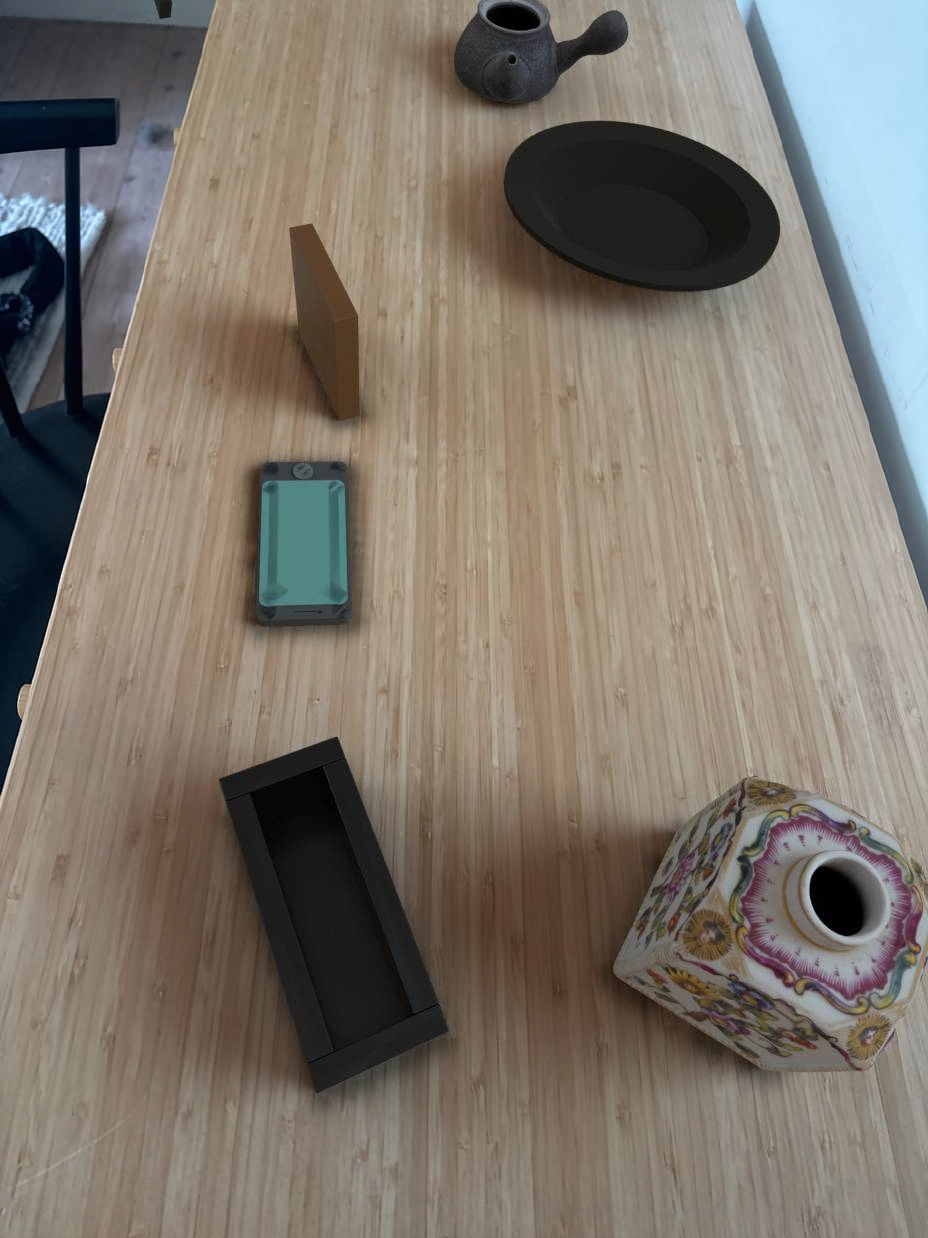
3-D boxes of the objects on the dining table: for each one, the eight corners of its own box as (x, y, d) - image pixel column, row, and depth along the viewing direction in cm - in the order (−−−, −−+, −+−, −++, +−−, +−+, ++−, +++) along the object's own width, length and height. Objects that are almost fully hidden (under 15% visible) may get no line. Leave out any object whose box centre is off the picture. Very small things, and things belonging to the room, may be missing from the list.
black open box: (237, 817, 60) (217, 778, 52) (341, 778, 62) (337, 735, 54) (323, 1091, 53) (316, 1094, 45) (437, 1037, 54) (449, 1031, 47)
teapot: (446, 120, 98) (454, 26, 89) (456, 42, 105) (464, -52, 96) (610, 143, 99) (634, 52, 90) (609, 64, 106) (631, -27, 97)
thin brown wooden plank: (298, 333, 81) (288, 227, 71) (319, 328, 81) (312, 222, 71) (338, 420, 76) (333, 321, 66) (359, 415, 77) (358, 315, 67)
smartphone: (347, 459, 73) (351, 616, 66) (347, 468, 74) (351, 624, 67) (257, 460, 72) (252, 619, 65) (259, 469, 73) (254, 626, 66)
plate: (470, 284, 86) (476, 237, 81) (526, 144, 97) (534, 94, 92) (744, 361, 85) (767, 317, 80) (768, 210, 96) (790, 163, 91)
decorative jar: (676, 825, 62) (781, 741, 46) (825, 913, 60) (988, 857, 45) (603, 978, 57) (694, 942, 41) (764, 1080, 55) (924, 1083, 39)
